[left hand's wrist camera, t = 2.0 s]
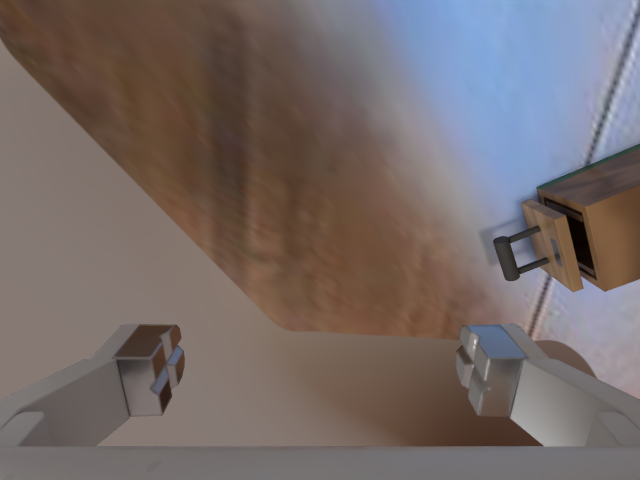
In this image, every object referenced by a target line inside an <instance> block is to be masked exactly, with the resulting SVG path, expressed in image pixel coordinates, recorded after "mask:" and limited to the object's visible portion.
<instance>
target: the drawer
mask: <svg viewBox="0 0 640 480" xmlns="http://www.w3.org/2000/svg"><path fill="white" fill-rule="evenodd" d="M546 204H547V206H544V205H542V204H540V203H538V202H536V201H533V200H531V199H529V200H526V201H524V202H521V206H522V210H523V213H524V217H525V220H526V224H527V227H528V229H527V230H525V231H522V232H520V233H517V234H515V235H513V236H510V237H506V236H502V237H498V238H496V239H494V241H493V243H494V246H495V249H496V252H497V255H498V259H499V262H500V265H501V268H502V271H503V274H504V277H505V279H506V280H507V281H515V280H517V279H519V277H520V274H522V273H524V272H527V271H530V270H532V269H535V268H537V267H540V268H542V269H543V270H544V271H546V272H547V273H548V274H550V275H551V276H552V277H554V278H555V279H556V280H558V281H559V282H560V283H562V284H563V285H564V286H566V287H567V288H568V289H570V290H571V291H572V292H575V291H578V290H581V289H583V284H582V280H581V276H580V271H579V267H578V266H580V267H581V268H583V269H584V270H586V271H588V272H589V273H591V274H592V275H596V273H595V269H594V264H593V260H592V255H591V251H590V246H589V242H588V238H587V233H586V229H585V224H584V220H583V215H582V212H579V211H577V210H575V209H572V208H570V207H567V206H565V205H563V204H560V203H558V202H555V201H553V200H551V199H549V200H547V201H546ZM527 236H530V238H531V241H532V245H533V248H534V252H535V255H536V259H537V261H534V262H532V263H529V264H527V265H524V266H522V267H519V268H517V265H516V261H515V258H514V255H513V252H512V248H511V245H510V243H512V242H515V241H517V240H520V239H522V238H525V237H527Z"/></svg>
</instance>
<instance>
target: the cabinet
mask: <svg viewBox="0 0 640 480" xmlns="http://www.w3.org/2000/svg"><path fill="white" fill-rule="evenodd" d="M536 188H537V191H538V195H539V198H540V202H541V204H542V205H544V206H547V204H546V201H547V200H549V199H551V200H553V201H555V202H558V203H560V204H563V205H565V206H567V207H570V208H572V209H575V210H577V211H579V212H582V215H583V220H584V224H585V229H586V233H587V238H588V242H589V246H590V251H591V255H592V260H593V264H594V269H595V273H596V275H592V274H591V273H589V272H588V271H586V270H584V269H583V268H581V267H580V266H578V267H579V271H580V276H582V277H583V278H585V279H586V280H588V281H589V282H591V283H592V284H594V285H595V286H597V287H599V288H600V289H601V290H603V291H605V292H606V291H608V290H611V289H614V288H616V287H619V286H622V285H625V284H627V283H630V282H633V281H636V280H638V279H640V144H639V145H636V146H634V147H632V148H629V149H627V150H624V151H622V152H620V153H617V154H615V155H613V156H610V157H608V158H605V159H603V160H601V161H598V162H596V163H593V164H591V165H589V166H586V167H584V168H582V169H579V170H577V171H574V172H572V173H570V174H567V175H565V176H563V177H560V178H558V179H555V180H553V181H551V182H548V183H546V184H544V185H541V186H539V187H536Z"/></svg>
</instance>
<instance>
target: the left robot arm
mask: <svg viewBox="0 0 640 480" xmlns="http://www.w3.org/2000/svg"><path fill="white" fill-rule="evenodd" d="M180 339H181V333H180V328H179V327H178V326H177V325H162V324H124V325H121V326H120V327H119V328H118V329H117V330H116V332H115V333H114V334H113V335H112V336H111V337H110V338H109V339H108V340H107V341H106V342H105V343H104V345H103V346H102V347H101V348H100V349H99V350H98V351H97V352H96V353H95V354H94V355H93V356H92V358H91V359H83V360H81V361H79V362H77V363H75V364H73V365H71V366H69V367H67V368H65V369H63V370H61V371H59V372H56V373H54V374H52V375H50V376H48V377H46V378H44V379H42V380H40V381H38V382H36V383H34V384H31V385H29V386H27V387H25V388H23V389H21V390H19V391H17V392H15V393H13V394H11V395H9V396H6V397H4V398H2V399H0V480H640V399H637V398H635V397H633V396H631V395H629V394H627V393H625V392H623V391H621V390H619V389H617V388H615V387H613V386H610V385H608V384H606V383H604V382H602V381H600V380H598V379H596V378H594V377H592V376H590V375H588V374H586V373H583V372H581V371H579V370H577V369H575V368H573V367H571V366H569V365H567V364H565V363H563V362H561V361H559V360H557V359H549V358H548V356H547V355H546V354H545V353H544V352H543V351H542V350H541V349H540V348H539V347H538V346H537V345H536V343H535V342H534V341H533V340H532V339H531V338H530V337H529V336H528V335H527V334H526V333H525V331H524V330H523V329H522V328H521V327H520V326H519V325H516V324H497V325H462V327H461V329H460V332H459V339H460V341H461V343H462V344H463V345H462V346H461V347H460V348H459V349H458V350H457V351H456V360H455V363H456V371H457V375H458V378H459V380H460V382H461V384H462V385H463V386H465V387H466V388H467V389H469V393H468V398H469V400H470V402H471V404H472V406H473V407H474V409H475V411H476V413H477V415H478V416H505V417H510V418H511V419H512V420H513V421H514V422H516V423H517V424H518V425H519V426H520V427H522V428H523V429H524V430H525V431H527V432H528V433H529V434H530V435H531V436H533V437H534V438H535V439H536V440H538V441H539V442H540V443H541V444H542V445H544V446H357V447H356V446H354V447H353V446H349V447H348V446H340V447H339V446H337V447H336V446H330V447H329V446H322V447H321V446H315V447H314V446H307V447H306V446H305V447H304V446H303V447H302V446H97V445H98V444H99V443H100V442H101V441H103V440H104V439H105V438H106V437H108V436H109V435H110V434H111V433H112V432H114V431H115V430H116V429H117V428H118V427H120V426H121V425H122V424H123V423H125V422H126V421H127V420H128V419H129V418H130V417H135V416H162V415H163V413H164V411H165V409H166V408H167V405H168V404H169V402H170V400H171V398H172V393H171V389H173V388H174V387H175V386H177V385H178V384H179V382H180V380H181V378H182V375H183V370H184V360H185V358H184V351H183V350H182V349H181V348H180V347H179V346H178V345H177V344H178V343H179V341H180Z"/></svg>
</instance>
